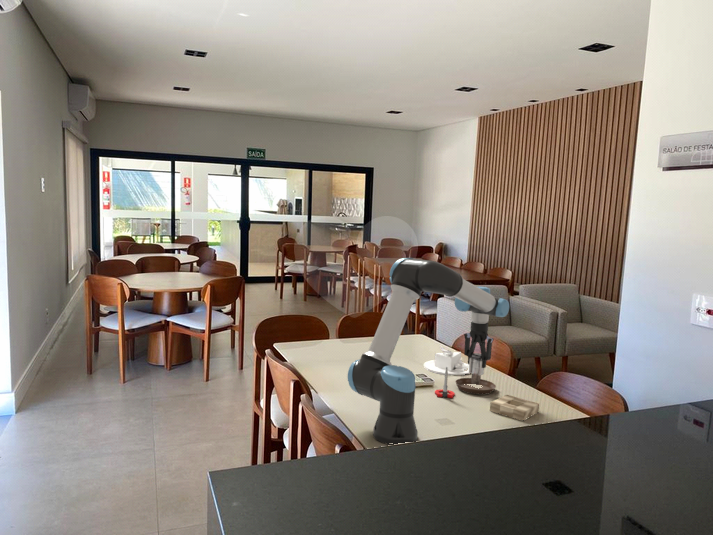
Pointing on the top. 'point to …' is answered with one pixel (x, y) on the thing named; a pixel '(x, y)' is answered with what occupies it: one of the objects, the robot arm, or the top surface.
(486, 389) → the plant saucer
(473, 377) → the steel pin
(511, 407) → the oak hitch block
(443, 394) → the tow hook
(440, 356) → the dish
